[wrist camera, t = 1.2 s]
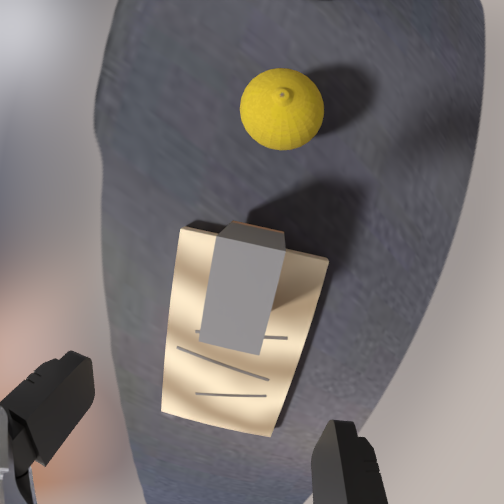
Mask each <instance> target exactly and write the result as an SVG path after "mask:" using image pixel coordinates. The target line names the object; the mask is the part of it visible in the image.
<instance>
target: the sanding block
mask: <svg viewBox="0 0 504 504" xmlns="http://www.w3.org/2000/svg"><path fill="white" fill-rule="evenodd" d="M285 253H286V248H285V237H284V232H283V231H278V230H274V229H269V228H265V227H260V226H256V225H251V224H246V223H242V222H237V221H232V222H231V223H230V224H229V225H228V226H226V227H225V228H224V229H223V230H222V231H221V232H220V233H219V234H218V235H217V236H216V240H215V246H214V251H213V257H212V262H211V268H210V274H209V280H208V285H207V291H206V297H205V303H204V309H203V316H202V322H201V328H200V334H199V342H203V343H207V344H211V345H215V346H219V347H223V348H227V349H232V350H236V351H240V352H245V353H249V354H254V355H260V351H261V347H262V344H263V340H264V336H265V332H266V328H267V325H268V321H269V317H270V313H271V309H272V305H273V301H274V297H275V293H276V289H277V285H278V281H279V277H280V273H281V269H282V265H283V261H284V257H285Z"/></svg>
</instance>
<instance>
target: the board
mask: <svg viewBox="0 0 504 504" xmlns="http://www.w3.org/2000/svg"><path fill="white" fill-rule="evenodd" d="M217 235H218V233H213V232H209V231H204V230H200V229H195V228H190V227H186V226H185V227H183V228H181V229H180V236H179V242H178V249H177V256H176V263H175V270H174V278H173V285H172V293H171V302H170V311H169V320H168V329H167V340H166V351H165V363H164V376H163V391H162V408H161V411H163V412H166V413H169V414H173V415H176V416H179V417H183V418H186V419H190V420H194V421H198V422H201V423H205V424H209V425H213V426H218V427H222V428H226V429H231V430H236V431H241V432H246V433H251V434H256V435H262V436H268V437H271V434H272V432H273V429H274V427H275V424H276V421H277V419H278V416H279V414H280V411H281V408H282V406H283V403H284V400H285V398H286V395H287V392H288V389H289V387H290V384H291V381H292V378H293V375H294V373H295V370H296V367H297V364H298V361H299V358H300V355H301V352H302V349H303V346H304V343H305V340H306V337H307V334H308V331H309V328H310V325H311V321H312V318H313V315H314V312H315V308H316V305H317V302H318V298H319V295H320V292H321V288H322V285H323V281H324V278H325V274H326V271H327V267H328V264H329V261H328V259H327V258H325V257H321V256H316V255H312V254H308V253H303V252H299V251H294V250H290V249H286V253H285V257H284V261H283V265H282V269H281V273H280V277H279V281H278V285H277V289H276V293H275V297H274V301H273V305H272V309H271V313H270V317H269V321H268V325H267V328H266V332H265V336H264V340H263V344H262V347H261V351H260V355H254V354H249V353H245V352H240V351H236V350H232V349H227V348H223V347H219V346H215V345H211V344H207V343H203V342H199V334H200V328H201V322H202V316H203V309H204V303H205V297H206V291H207V285H208V280H209V274H210V268H211V262H212V257H213V251H214V246H215V240H216V236H217Z"/></svg>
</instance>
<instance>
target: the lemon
mask: <svg viewBox="0 0 504 504" xmlns="http://www.w3.org/2000/svg"><path fill="white" fill-rule="evenodd" d="M240 113H241V120H242V122H243V124H244V127H245V129H246V130H247V132H248V133H249V134H250V136H251V137H252V138H253V139H254V140H256V141H257V142H258V143H260V144H261V145H263V146H266V147H268V148H271V149H276V150H291V149H294V148H298V147H301V146H302V145H304V144H306V143H307V142H309V141H310V140H311V139H312V138H313V137H314V136H315V135H316V134H317V132H318V130H319V128H320V126H321V125H322V121H323V116H324V103H323V100H322V96H321V93H320V92H319V90H318V88H317V87H316V85H315V84H314V83H313V82H312V81H311V80H310V79H309V78H308V77H307V76H305V75H303V74H302V73H300V72H298V71H295V70H291V69H285V68H277V69H271V70H268V71H265V72H263V73H261V74H259V75H258V76H257V77H255V78H254V79H253V80H252V81H251V82H250V83H249V84H248V86H247V87H246V88H245V90H244V93H243V95H242V98H241V104H240Z"/></svg>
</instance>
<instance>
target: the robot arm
mask: <svg viewBox="0 0 504 504" xmlns="http://www.w3.org/2000/svg"><path fill="white" fill-rule="evenodd" d="M94 396H95V388H94V378H93V369H92V361H91V359H90V358H88V357H86V356H83V355H81V354H79V353H76V352H74V351H69V352H67V353H66V354H65V355H64V356H63V357H62V358H61V359H60V360H58V359H53V360H50V361H48V362H45V363H43V364H42V365H40V366H39V367H38V368H37V369H36V370H35V371H34V373H31V374H30V375H29V376H28V377H27V379H26V380H24V381H23V382H21V383H20V384H19V385H18V386H17V387H16V388H15V389H14V390H13V391H12V392H11V393H9V394H8V395H7V396H6V397H5V398H4V399H3V400H2V401H1V402H0V504H37V501H36V496H35V490H34V483H33V476H32V469H31V464H32V463H33V462H34V461H37V462H38V463H40V464H42V465H43V466H45V467H46V465H47V464H48V463H49V461H50V460H51V459H52V457H53V456H54V454H55V453H56V452H57V450H58V449H59V448H60V446H61V445H62V444H63V442H64V441H65V440H66V438H67V437H68V436H69V434H70V433H71V431H72V430H73V429H74V428H75V426H76V425H77V424H78V422H79V421H80V420H81V418H82V417H83V416H84V414H85V413H86V412H87V411H88V409H89V408H90V406H91V405H92V403H93V400H94ZM311 470H312V486H313V504H388V501H387V497H386V493H385V489H384V486H383V482H382V477H381V474H380V473H379V471H380V470H379V466H378V463H377V459H376V455H375V452H374V448H373V447H372V446H371V445H370V443H369V442H368V441H367V439H366V438H365V437H358V435H357V431H356V427H355V424H354V422H351V421H340V420H330V421H329V422H328V424H327V425H326V427H325V429H324V431H323V433H322V435H321V437H320V439H319V441H318V442H317V444H316V446H315V448H314V451H313V454H312V459H311Z"/></svg>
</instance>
